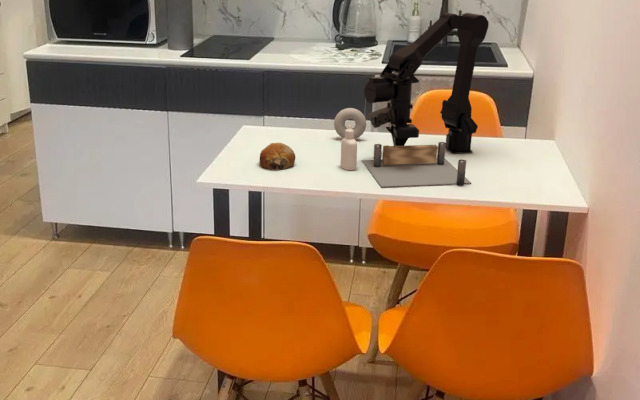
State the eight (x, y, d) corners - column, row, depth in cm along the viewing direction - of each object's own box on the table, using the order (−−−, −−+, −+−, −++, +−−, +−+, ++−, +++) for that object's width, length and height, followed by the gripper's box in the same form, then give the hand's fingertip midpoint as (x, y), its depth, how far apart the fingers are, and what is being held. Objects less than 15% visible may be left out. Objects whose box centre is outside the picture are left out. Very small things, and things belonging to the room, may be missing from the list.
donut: (365, 138, 224) (367, 107, 220) (365, 141, 221) (366, 110, 217) (334, 137, 225) (334, 106, 221) (333, 140, 221) (333, 108, 218)
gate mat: (443, 158, 206) (443, 157, 206) (471, 184, 186) (471, 182, 186) (362, 161, 202) (362, 160, 202) (381, 187, 182) (381, 186, 182)
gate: (434, 161, 200) (435, 143, 199) (436, 163, 199) (437, 145, 197) (382, 163, 198) (383, 145, 196) (383, 165, 196) (384, 147, 194)
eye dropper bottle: (356, 164, 199) (357, 122, 195) (356, 171, 194) (357, 128, 190) (340, 164, 200) (341, 122, 195) (340, 170, 194) (341, 127, 190)
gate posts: (442, 164, 201) (444, 141, 199) (465, 185, 185) (467, 161, 182) (372, 166, 198) (373, 144, 196) (389, 189, 181) (390, 164, 179)
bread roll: (298, 176, 200) (304, 148, 201) (283, 171, 191) (289, 141, 191) (267, 171, 204) (272, 143, 204) (250, 165, 195) (256, 136, 195)
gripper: (364, 92, 204) (362, 145, 210) (380, 108, 187) (377, 165, 193) (402, 91, 206) (399, 144, 212) (421, 107, 189) (417, 163, 195)
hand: (397, 153), depth 203 cm, fingers closed
